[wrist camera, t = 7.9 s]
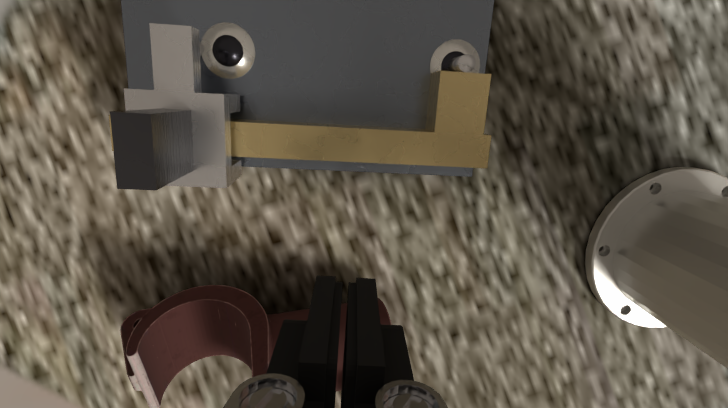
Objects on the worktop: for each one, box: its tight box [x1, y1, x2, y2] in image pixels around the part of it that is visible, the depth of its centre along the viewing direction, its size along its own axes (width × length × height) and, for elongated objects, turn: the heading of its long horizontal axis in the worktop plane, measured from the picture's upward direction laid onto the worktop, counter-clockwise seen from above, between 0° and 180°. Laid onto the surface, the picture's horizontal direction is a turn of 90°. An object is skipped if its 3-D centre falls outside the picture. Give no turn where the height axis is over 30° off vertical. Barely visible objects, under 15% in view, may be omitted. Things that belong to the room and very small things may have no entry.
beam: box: [109, 54, 492, 168], centre depth 24 cm, size 22×6×2 cm, turn 87°
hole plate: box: [121, 0, 494, 177], centre depth 25 cm, size 22×12×1 cm, turn 87°
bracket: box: [120, 285, 392, 408], centre depth 26 cm, size 6×17×10 cm, turn 91°
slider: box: [110, 23, 242, 190], centre depth 21 cm, size 5×8×9 cm, turn 177°
